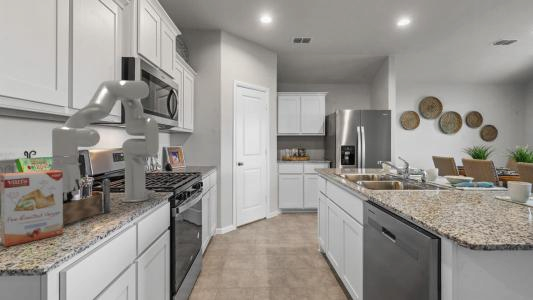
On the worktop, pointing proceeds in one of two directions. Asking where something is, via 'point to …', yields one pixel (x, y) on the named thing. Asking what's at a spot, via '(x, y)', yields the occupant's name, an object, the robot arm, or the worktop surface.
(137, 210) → the worktop surface
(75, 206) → the gate
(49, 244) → the worktop surface
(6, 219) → the cracker box
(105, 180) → the gatepost
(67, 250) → the worktop surface
